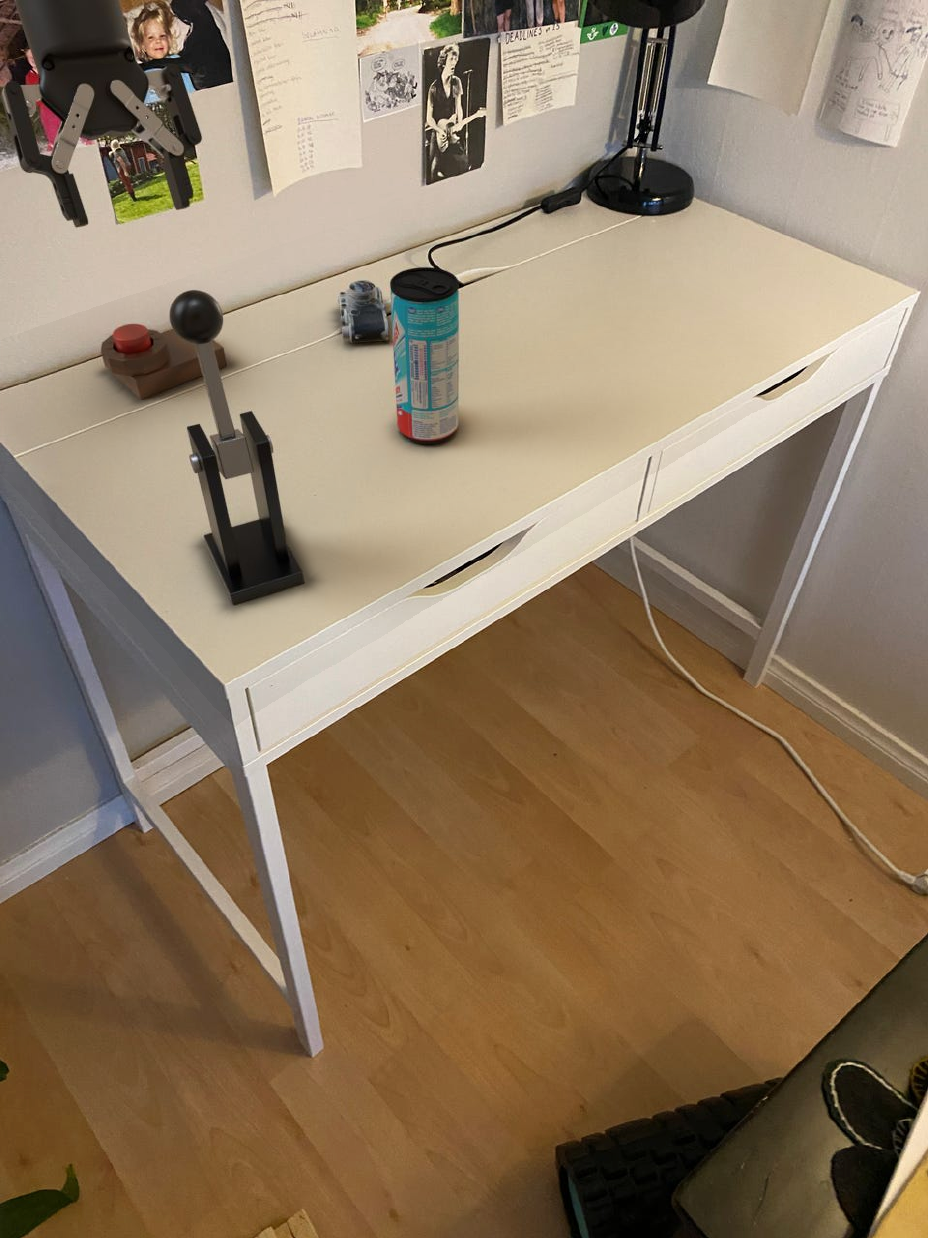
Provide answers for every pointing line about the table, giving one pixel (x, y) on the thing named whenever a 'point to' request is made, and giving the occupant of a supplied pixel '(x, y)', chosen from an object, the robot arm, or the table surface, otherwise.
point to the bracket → (254, 549)
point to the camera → (363, 313)
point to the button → (131, 339)
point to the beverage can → (426, 353)
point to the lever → (211, 376)
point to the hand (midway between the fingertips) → (134, 216)
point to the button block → (157, 363)
